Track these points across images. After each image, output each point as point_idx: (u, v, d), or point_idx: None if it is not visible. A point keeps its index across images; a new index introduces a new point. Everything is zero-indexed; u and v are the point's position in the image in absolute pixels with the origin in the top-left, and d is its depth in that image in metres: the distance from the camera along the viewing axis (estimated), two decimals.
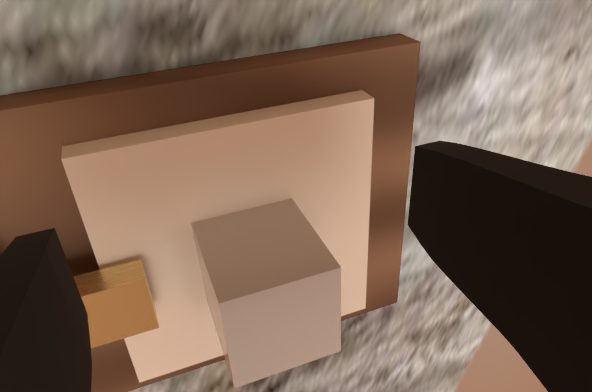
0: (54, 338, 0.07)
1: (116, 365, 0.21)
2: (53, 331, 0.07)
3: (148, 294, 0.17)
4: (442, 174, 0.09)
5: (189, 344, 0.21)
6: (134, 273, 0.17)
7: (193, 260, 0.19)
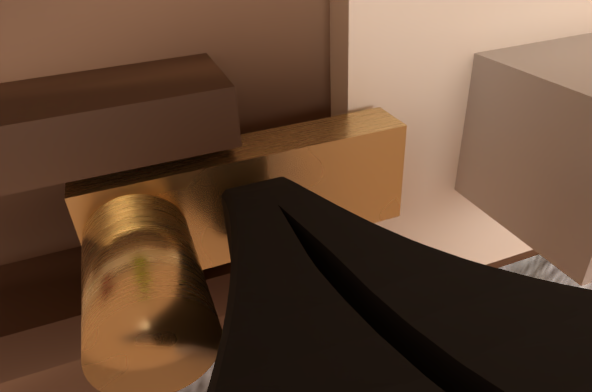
0: None
1: None
2: None
3: (403, 154, 0.11)
4: None
5: None
6: (383, 120, 0.11)
7: (459, 118, 0.13)
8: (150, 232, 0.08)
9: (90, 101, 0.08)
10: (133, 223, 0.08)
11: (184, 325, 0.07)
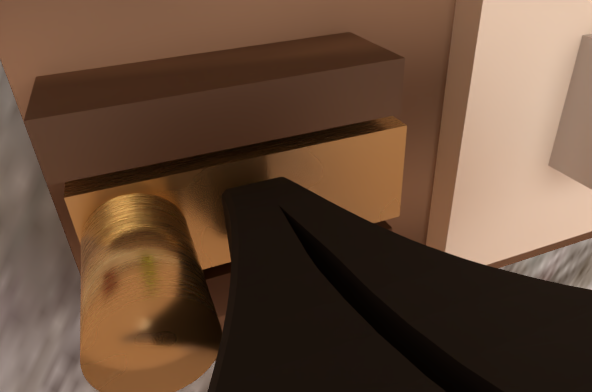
0: None
1: None
2: None
3: (403, 154, 0.11)
4: None
5: (507, 229, 0.16)
6: (383, 120, 0.11)
7: (561, 97, 0.14)
8: (150, 231, 0.08)
9: (280, 69, 0.09)
10: (133, 222, 0.08)
11: (184, 325, 0.07)
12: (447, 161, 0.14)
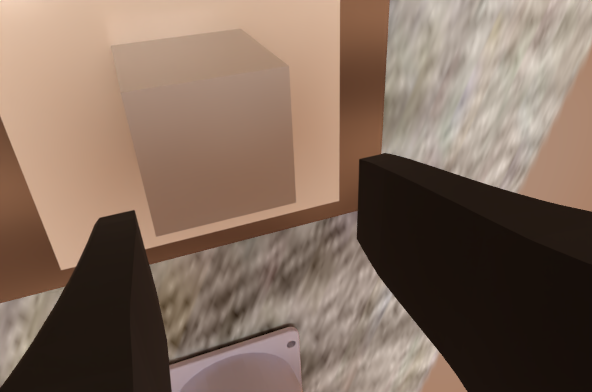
0: (149, 310, 0.07)
1: (35, 251, 0.18)
2: (147, 304, 0.07)
3: None
4: (383, 189, 0.09)
5: None
6: None
7: (118, 102, 0.15)
8: None
9: None
10: None
11: None
12: None
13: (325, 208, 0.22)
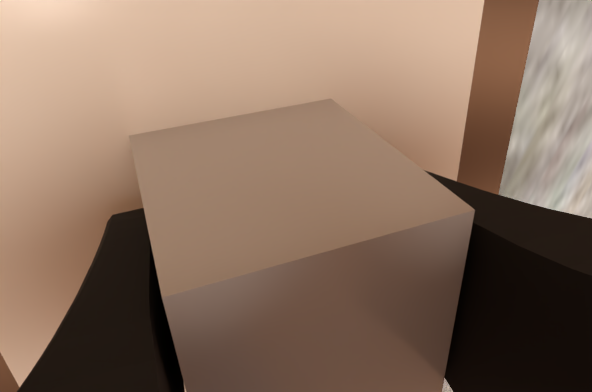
0: (163, 306, 0.07)
1: None
2: (162, 300, 0.07)
3: None
4: None
5: None
6: None
7: None
8: None
9: None
10: None
11: None
12: None
13: None
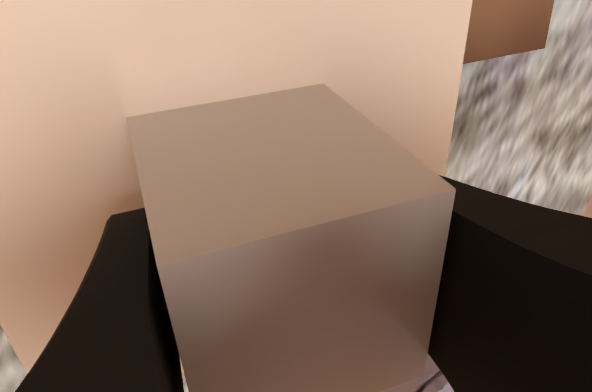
0: (162, 307, 0.07)
1: None
2: (161, 301, 0.07)
3: None
4: None
5: None
6: None
7: (135, 196, 0.10)
8: None
9: None
10: None
11: None
12: None
13: (495, 44, 0.20)
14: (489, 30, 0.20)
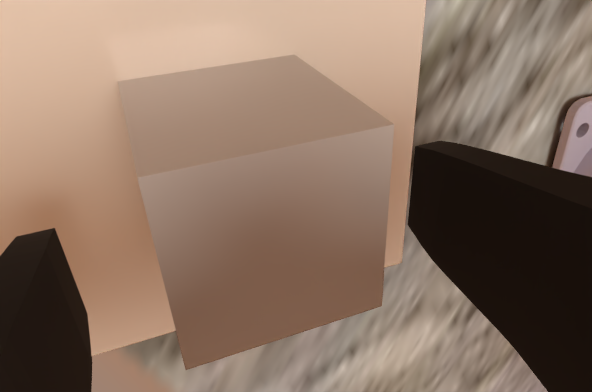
0: (54, 337, 0.07)
1: None
2: (53, 331, 0.07)
3: None
4: (442, 174, 0.09)
5: (131, 307, 0.13)
6: None
7: (127, 156, 0.11)
8: None
9: None
10: None
11: None
12: None
13: None
14: None
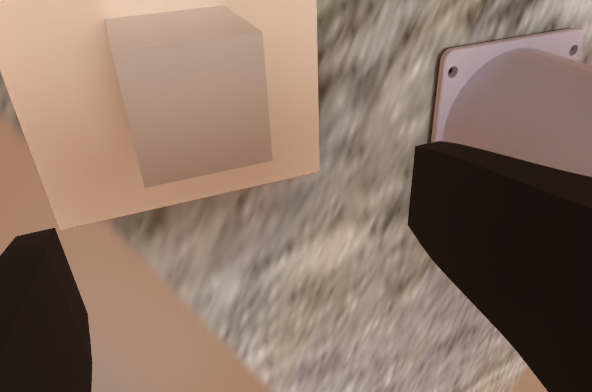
0: (54, 337, 0.07)
1: None
2: (53, 331, 0.07)
3: None
4: (442, 174, 0.09)
5: (116, 187, 0.19)
6: None
7: (111, 71, 0.17)
8: None
9: None
10: None
11: None
12: None
13: None
14: None
